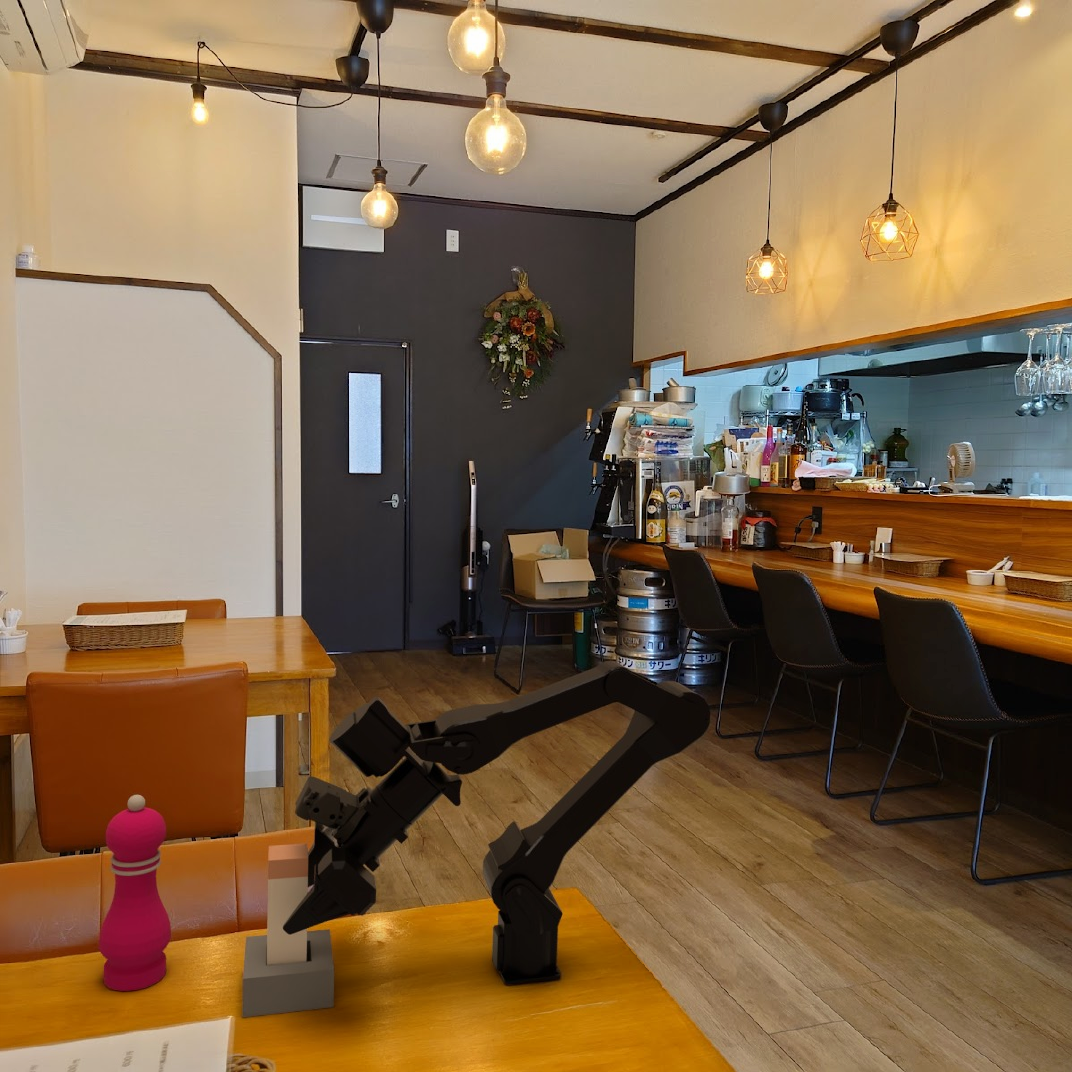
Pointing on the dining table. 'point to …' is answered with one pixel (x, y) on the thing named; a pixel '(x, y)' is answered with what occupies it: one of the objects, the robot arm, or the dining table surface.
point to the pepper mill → (135, 901)
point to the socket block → (288, 978)
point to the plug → (286, 902)
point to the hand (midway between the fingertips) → (287, 910)
